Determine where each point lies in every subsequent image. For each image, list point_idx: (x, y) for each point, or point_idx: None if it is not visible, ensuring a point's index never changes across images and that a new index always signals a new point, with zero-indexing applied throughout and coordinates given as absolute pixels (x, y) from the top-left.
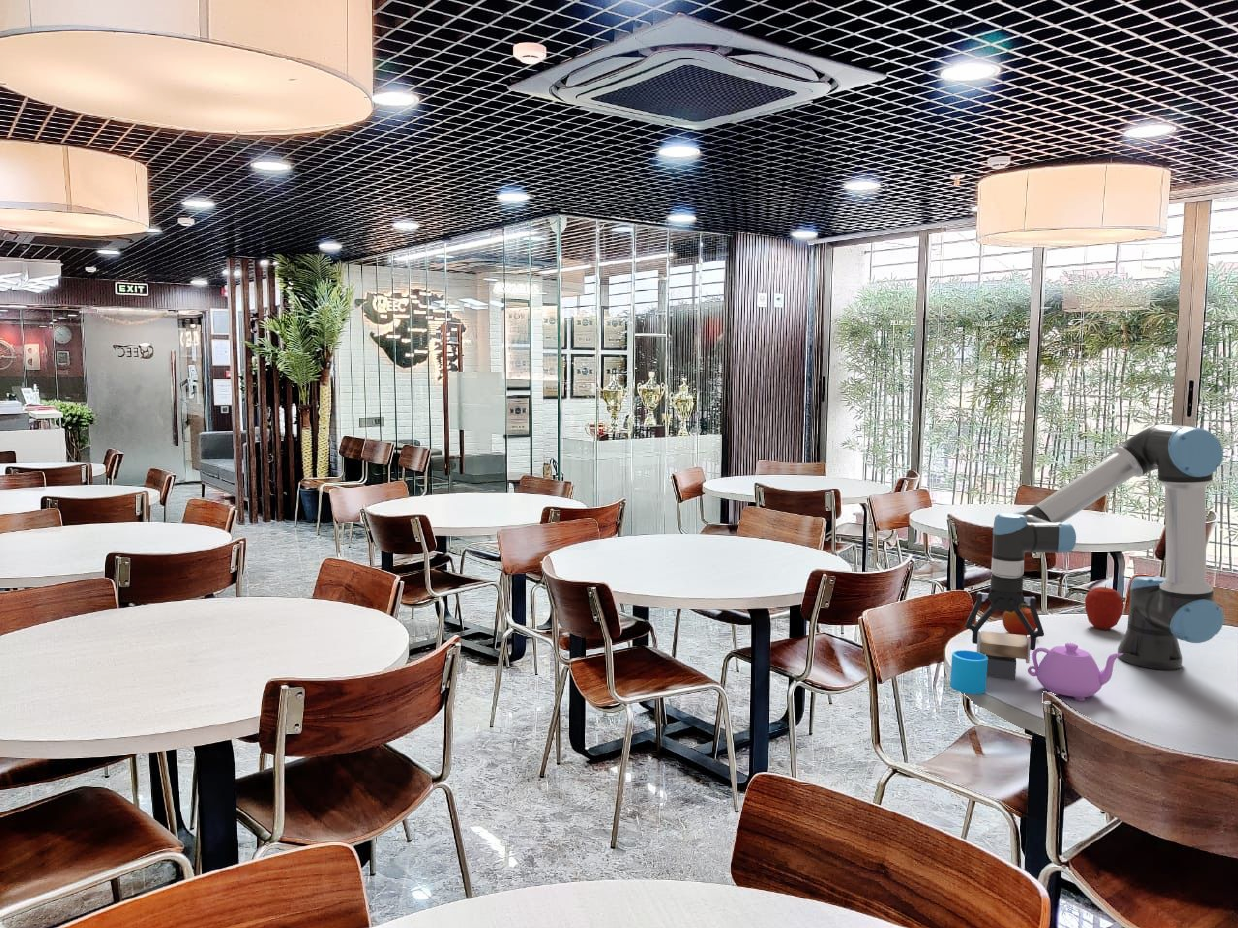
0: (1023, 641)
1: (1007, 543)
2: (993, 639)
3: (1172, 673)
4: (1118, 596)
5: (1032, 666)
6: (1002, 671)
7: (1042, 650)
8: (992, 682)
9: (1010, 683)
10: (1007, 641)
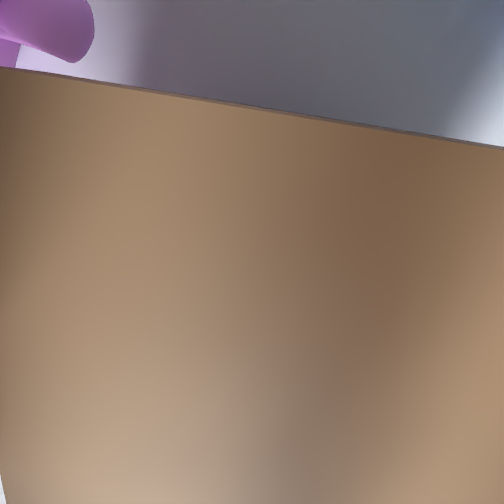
0: (35, 399)
1: None
2: (442, 390)
3: None
4: None
5: (20, 1)
6: None
7: None
8: (375, 32)
9: (247, 51)
10: (263, 350)
